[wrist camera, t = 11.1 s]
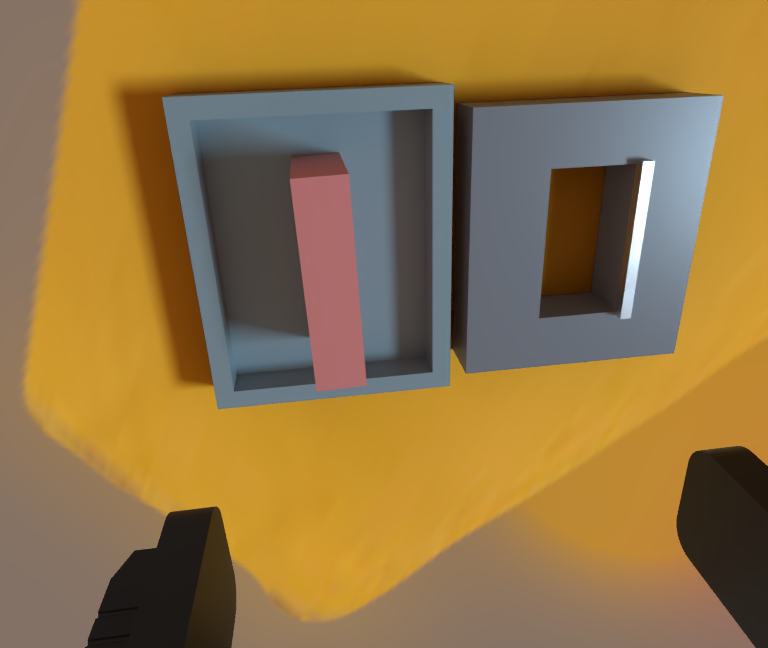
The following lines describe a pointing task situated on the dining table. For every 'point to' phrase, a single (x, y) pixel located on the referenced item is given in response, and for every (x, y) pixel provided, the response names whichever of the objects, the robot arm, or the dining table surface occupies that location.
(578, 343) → the grey square-hole plate
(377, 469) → the dining table surface
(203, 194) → the tray
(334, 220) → the pink block
